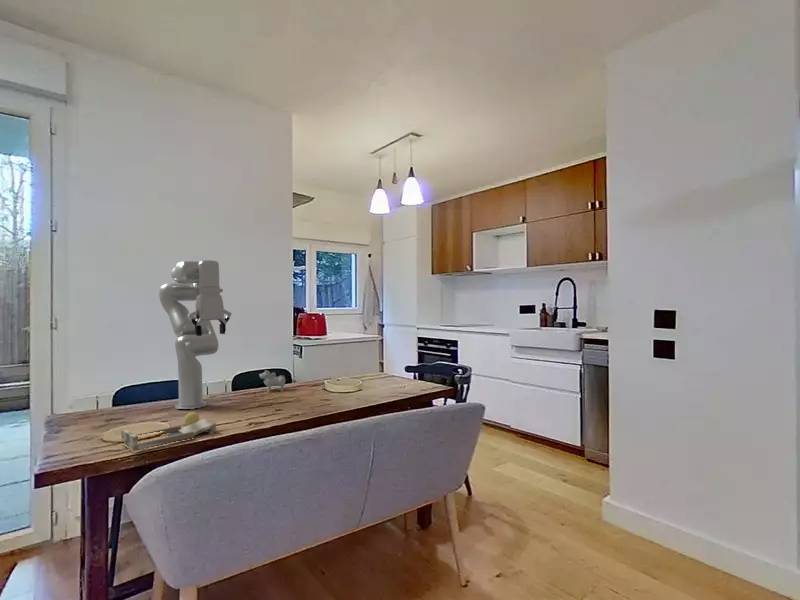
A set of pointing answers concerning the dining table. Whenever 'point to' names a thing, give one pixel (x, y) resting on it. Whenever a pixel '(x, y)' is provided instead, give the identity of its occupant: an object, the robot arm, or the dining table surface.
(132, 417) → the dining table surface
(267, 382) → the grey dog figurine
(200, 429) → the ramp
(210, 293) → the robot arm
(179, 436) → the grey tray
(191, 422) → the ball
